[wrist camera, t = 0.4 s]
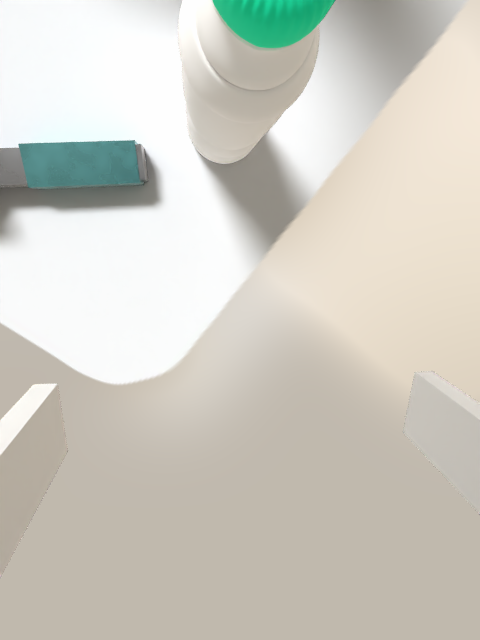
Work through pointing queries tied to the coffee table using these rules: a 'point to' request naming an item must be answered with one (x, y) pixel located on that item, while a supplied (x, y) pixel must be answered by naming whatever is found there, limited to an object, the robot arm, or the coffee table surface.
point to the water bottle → (244, 68)
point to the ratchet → (73, 165)
